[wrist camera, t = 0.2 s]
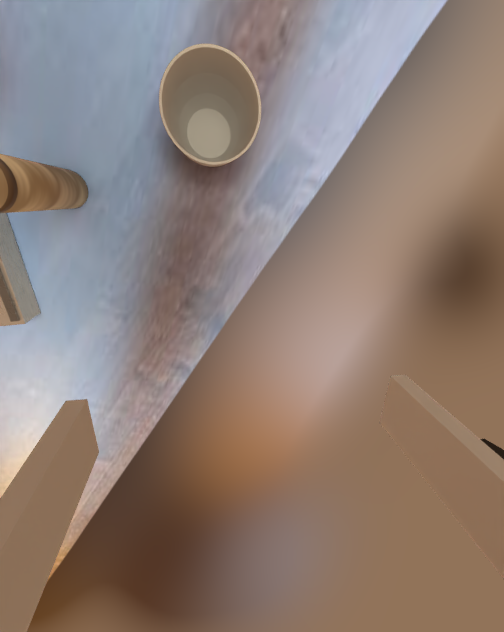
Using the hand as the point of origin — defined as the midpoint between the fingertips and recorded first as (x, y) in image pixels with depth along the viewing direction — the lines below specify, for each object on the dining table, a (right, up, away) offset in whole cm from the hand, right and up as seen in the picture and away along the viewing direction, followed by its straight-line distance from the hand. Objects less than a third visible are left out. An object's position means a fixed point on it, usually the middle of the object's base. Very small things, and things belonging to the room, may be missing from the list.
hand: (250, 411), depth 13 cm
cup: (-5, +25, +20) cm, 32 cm away
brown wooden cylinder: (-20, +18, +19) cm, 34 cm away
